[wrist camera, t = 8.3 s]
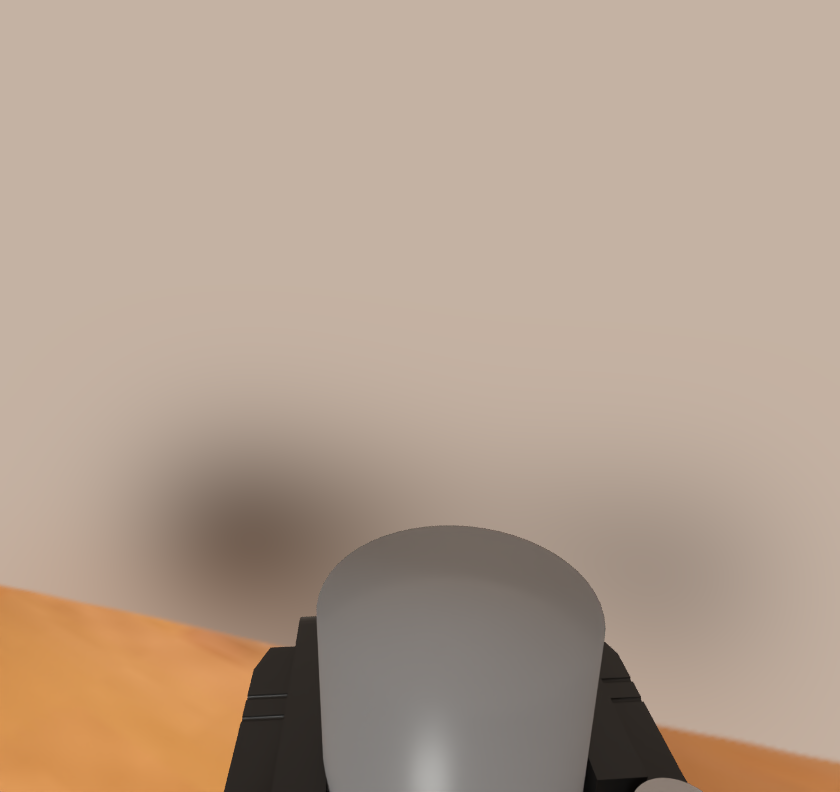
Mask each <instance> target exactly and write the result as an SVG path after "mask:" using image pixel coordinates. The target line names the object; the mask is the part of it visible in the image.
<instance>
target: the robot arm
mask: <svg viewBox="0 0 840 792" xmlns="http://www.w3.org/2000/svg"><path fill="white" fill-rule="evenodd" d="M224 792H327V778H326V774H325V768H324V762H323V745H322V723H321V702H320V680H319V659H318V637H317V616H315V617H314V616H313V617H301V618H300V622H299V628H298V634H297V640H296V646H295V647H274V648H270V649H269V650H268V652H267V653H266V654H265V656H264V657H263V658H262V660H261V661H260V662H259V664H258V665H257V666H256V668H255V669H254V671H253V675H252V679H251V683H250V687H249V691H248V698H247V700H246V704H245V708H244V712H243V716H242V722H241V724H240V728H239V732H238V736H237V741H236V745H235V749H234V753H233V757H232V761H231V765H230V769H229V773H228V777H227V782H226V786H225V790H224ZM583 792H703V791H701V790H700V789H698V788H696V787H694V786H692V785H690V784H688V783H687V781H686V779H685V778H684V776H683V774H682V772H681V771H680V769H679V767H678V765H677V763H676V761H675V759H674V758H673V756H672V754H671V752H670V750H669V748H668V746H667V744H666V743H665V741H664V739H663V737H662V735H661V733H660V731H659V730H658V728H657V726H656V724H655V722H654V720H653V718H652V717H651V715H650V713H649V711H648V709H647V707H646V706H645V704H644V702H642V701H641V696H640V694H639V693H638V691H637V689H636V687H635V685H634V683H633V682H631V680H630V676H629V674H628V672H627V670H626V668H625V666H624V664H623V663H622V661H621V659H620V657H619V655H618V654H617V653H616V652H615V651H614V650H613V649H612V648H611V647H610V646H609V645H608V644H606V643H605V642H604V646H603V653H602V660H601V667H600V674H599V681H598V688H597V695H596V702H595V709H594V717H593V724H592V731H591V738H590V745H589V752H588V759H587V766H586V773H585V780H584V788H583Z"/></svg>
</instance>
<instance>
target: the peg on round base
mask: <svg viewBox="0 0 840 792" xmlns="http://www.w3.org/2000/svg"><path fill="white" fill-rule="evenodd" d="M317 637H318V659H319V680H320V702H321V723H322V745H323V762H324V768H325V774H326V778H327V792H583V788H584V780H585V773H586V766H587V759H588V752H589V745H590V738H591V731H592V724H593V717H594V709H595V702H596V695H597V688H598V681H599V674H600V667H601V660H602V653H603V646H604V638H605V621H604V614H603V611H602V607H601V604H600V602H599V600H598V598H597V596H596V594H595V592H594V591H593V589H592V588H591V587H590V585H589V584H588V582H587V581H586V580H585V579H584V578H583V577H582V575H581V574H580V573H579V572H578V571H577V570H576V569H574V568H573V567H572V566H571V565H570V564H568V563H567V562H566V561H564V560H563V559H562V558H560V557H559V556H557V555H556V554H554V553H552V552H551V551H549V550H547V549H545V548H543V547H541V546H539V545H537V544H535V543H533V542H530V541H528V540H525V539H522V538H520V537H517V536H514V535H510V534H507V533H503V532H500V531H494V530H490V529H485V528H484V529H483V528H477V527H468V526H429V527H421V528H414V529H408V530H404V531H399V532H396V533H393V534H389V535H386V536H383V537H380V538H378V539H376V540H373V541H371V542H369V543H367V544H365V545H363V546H361V547H359V548H358V549H356V550H355V551H353V552H352V553H350V554H349V555H348V556H347V557H345V558H344V559H343V560H342V561H341V562H340V563H338V565H337V566H336V567H335V568H334V569H333V570H332V571H331V573H330V574H329V576H328V577H327V579H326V580H325V582H324V584H323V586H322V588H321V591H320V593H319V597H318V603H317Z"/></svg>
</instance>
